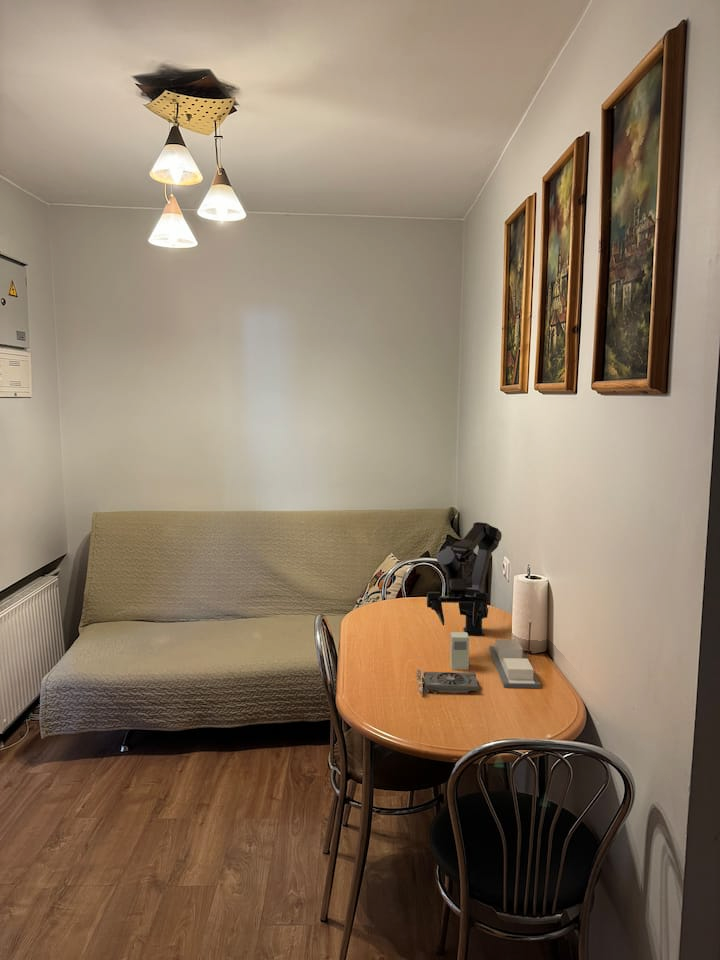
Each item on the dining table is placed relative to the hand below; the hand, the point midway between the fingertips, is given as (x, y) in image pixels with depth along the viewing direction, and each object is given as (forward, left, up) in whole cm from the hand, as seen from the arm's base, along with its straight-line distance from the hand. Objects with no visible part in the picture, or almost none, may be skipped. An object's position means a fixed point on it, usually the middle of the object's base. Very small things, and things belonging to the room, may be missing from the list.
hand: (458, 625), depth 191 cm
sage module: (+2, 0, -12) cm, 12 cm away
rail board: (+2, +16, -12) cm, 20 cm away
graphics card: (+18, -5, -13) cm, 22 cm away
